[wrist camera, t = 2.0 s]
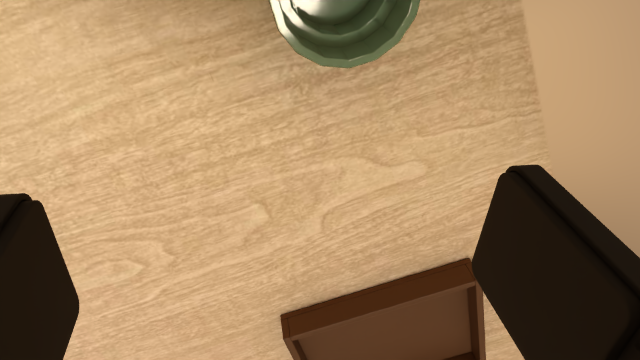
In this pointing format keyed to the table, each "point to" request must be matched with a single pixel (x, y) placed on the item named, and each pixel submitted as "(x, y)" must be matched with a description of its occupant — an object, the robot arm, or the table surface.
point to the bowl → (343, 28)
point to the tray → (395, 321)
